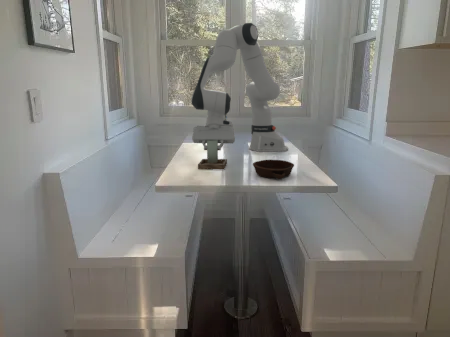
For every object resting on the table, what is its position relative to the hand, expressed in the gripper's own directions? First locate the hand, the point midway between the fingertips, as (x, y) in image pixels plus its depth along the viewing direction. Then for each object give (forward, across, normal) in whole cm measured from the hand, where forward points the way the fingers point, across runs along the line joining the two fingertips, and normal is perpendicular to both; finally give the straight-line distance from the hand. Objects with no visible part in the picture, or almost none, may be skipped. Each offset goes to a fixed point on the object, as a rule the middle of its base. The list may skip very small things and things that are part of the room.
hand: (212, 149), depth 166 cm
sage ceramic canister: (+4, 0, +5) cm, 6 cm away
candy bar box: (-58, -9, +70) cm, 91 cm away
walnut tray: (+5, 0, +6) cm, 8 cm away
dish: (+15, +28, -3) cm, 32 cm away
